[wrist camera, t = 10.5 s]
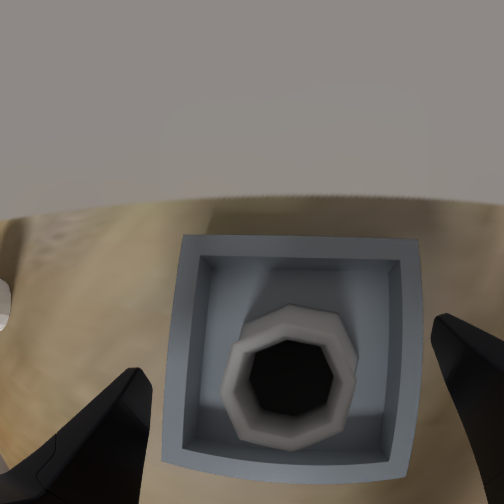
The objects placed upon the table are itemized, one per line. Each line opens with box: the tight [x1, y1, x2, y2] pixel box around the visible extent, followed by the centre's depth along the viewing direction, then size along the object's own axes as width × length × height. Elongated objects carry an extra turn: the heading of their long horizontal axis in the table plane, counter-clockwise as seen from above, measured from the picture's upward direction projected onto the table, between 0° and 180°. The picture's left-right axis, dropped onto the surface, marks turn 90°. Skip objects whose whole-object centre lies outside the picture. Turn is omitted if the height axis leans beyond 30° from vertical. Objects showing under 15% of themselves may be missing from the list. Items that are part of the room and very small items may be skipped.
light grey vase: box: [219, 303, 359, 452], centre depth 11 cm, size 7×7×10 cm
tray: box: [162, 235, 423, 484], centre depth 14 cm, size 13×13×3 cm
